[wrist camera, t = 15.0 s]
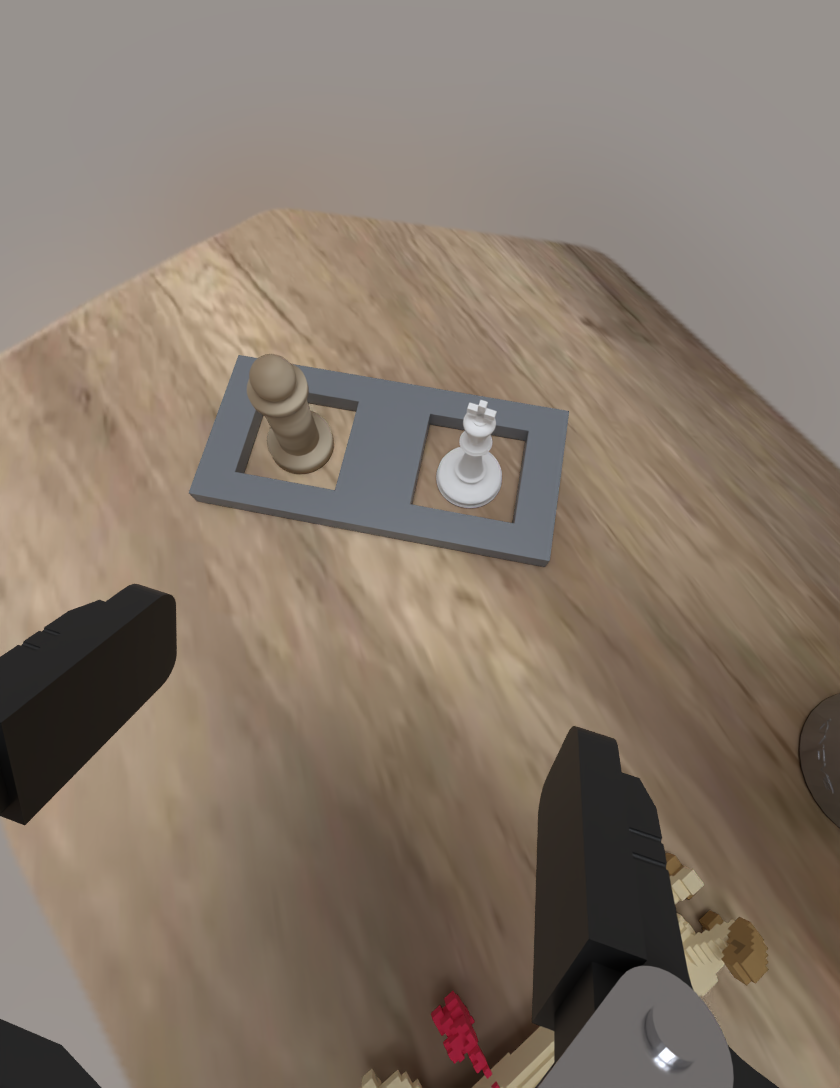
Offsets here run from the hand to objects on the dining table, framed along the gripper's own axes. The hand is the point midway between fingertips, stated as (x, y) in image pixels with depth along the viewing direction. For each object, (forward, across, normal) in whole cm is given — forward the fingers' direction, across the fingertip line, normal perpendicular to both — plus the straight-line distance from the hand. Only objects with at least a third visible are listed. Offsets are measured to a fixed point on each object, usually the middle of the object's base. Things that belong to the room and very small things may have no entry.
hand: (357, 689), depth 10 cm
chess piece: (+31, +1, +6) cm, 31 cm away
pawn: (+30, +14, +7) cm, 33 cm away
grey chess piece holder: (+30, +7, +7) cm, 32 cm away
